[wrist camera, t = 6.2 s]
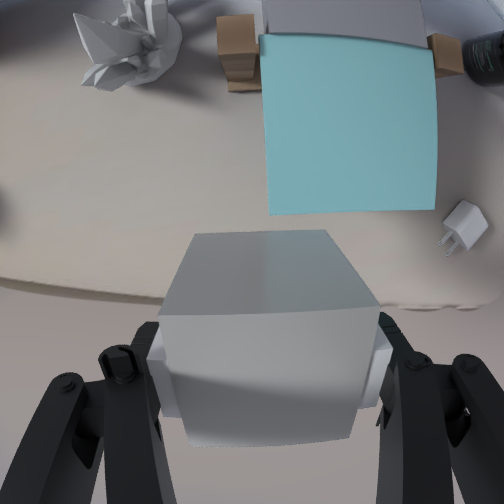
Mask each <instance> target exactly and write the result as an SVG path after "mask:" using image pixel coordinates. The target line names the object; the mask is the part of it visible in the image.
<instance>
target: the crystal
mask: <svg viewBox="0 0 504 504" xmlns="http://www.w3.org/2000/svg"><path fill="white" fill-rule="evenodd" d="M123 2H124V5H125V8H126V11H127V12H126V13H123V14H122V15H121V16H120V17H117V19H116V20H115V21H114V22H113V23H112V24H110V23H108V22H106V21H98V20H95V19H92V18H90V17H87V16H84V15H81V14H78V13H74V14H73V16H74V19H75V23H76V26H77V29H78V32H79V35H80V38H81V41H82V44H83V46H84V48H85V50H86V51H87V53H88V55H89V57H90V58H91V60H92V62H93V63H94V64H97V65H95V66H94V67H92V68H91V69H90V70H88V71H87V72H86V73H85V76H84V79H83V81H82V84H81V86H94V87H95V88H97V89H98V90H105V91H114V90H116V89H117V88H119V87H121V86H122V85H124V84H125V85H127V86H130V87H133V86H137V85H140V84H144V83H148V82H152V81H155V80H156V79H158V78H159V77H160V76H161V75H162V74H163V73H164V72H166V71H167V70H168V69H169V68H170V67H171V66H172V65H174V63H175V61H176V58H177V54H178V51H179V48H180V45H181V43H182V40H183V36H182V32H181V28H180V24H179V23H178V22H177V20H176V19H175V18H174V17H173V16H172V14H170V13H168V0H123Z"/></svg>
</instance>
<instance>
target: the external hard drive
mask: <svg viewBox="0 0 504 504" xmlns="http://www.w3.org/2000/svg"><path fill="white" fill-rule="evenodd" d="M488 1H489V3H490V4H491V5H492V6H493V8H494V9H495V10H496V11H497V13H498V14H499V15H500V17H501V18H502V19H503V21H504V0H488Z"/></svg>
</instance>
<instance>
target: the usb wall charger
mask: <svg viewBox="0 0 504 504" xmlns="http://www.w3.org/2000/svg"><path fill="white" fill-rule="evenodd" d="M442 224H443V226H444V227H445V229H446V230H447V232H448V233H447V234H446V235H445V236H444V237H443V238H442V239H441V241H440V242H439V243H438V244H437V245H439V246H441V245H442V244H443V243H444V242H445V241H446V240H447V239H448V238H449V237H450V236H451V238H452V239H453V240H454V241H455V243H454V244H453V245H452V246H451V247H450V248H449V250H448V251H447V252H446V253H445V256H447V257H448V256H449V255H450V254H451V253H452V252H453V251H454V249H455V248H456V247H457V246H458V245H460V246H462V247H463V248H465V249H466V250H469V249H470V248H471V247H472V245H473V244H474V243H475V242H476V241H477V240H478V238H479V237H480V236H481V235H482V234H483V232H484V231H485V230H486V229H487V228H488V224H487V222H486V220H485V218H484V216H483V215H482V213H481V211H480V209H479V208H478V207H477V206H476V205H474V204H472V203H469V202H467V201H465V200H462V201H461V202H460V203H459V204H458V205H457V206H456V208H455V209H454V210H453V211H452V212H451V213H450V214H449V216H448V217H447V218H446V219H445V220H444V221H443V222H442ZM441 242H442V244H440V243H441ZM448 252H449V254H448V255H447V253H448Z"/></svg>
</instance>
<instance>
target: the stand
mask: <svg viewBox="0 0 504 504" xmlns="http://www.w3.org/2000/svg"><path fill="white" fill-rule="evenodd" d="M216 25H217V44H218V56H219V59H220V61H221V64H222V67H223V69H224V72H225V75H226V78H227V80H228V91H229V92H235V91H250V90H262V82H261V67H260V52H259V44H256V42H255V29H254V15H253V14H247V15H231V16H219V17H216ZM427 44H428V48H426V49H428V50H432V54H433V63H434V73H435V78H440V77H446V76H451V75H457V74H463V73H464V67H463V58H462V51H461V43H460V40H459V39H455V38H452V37H448V36H445V35H441V34H437V33H435V34H433V35H430V36H428V37H427Z"/></svg>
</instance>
